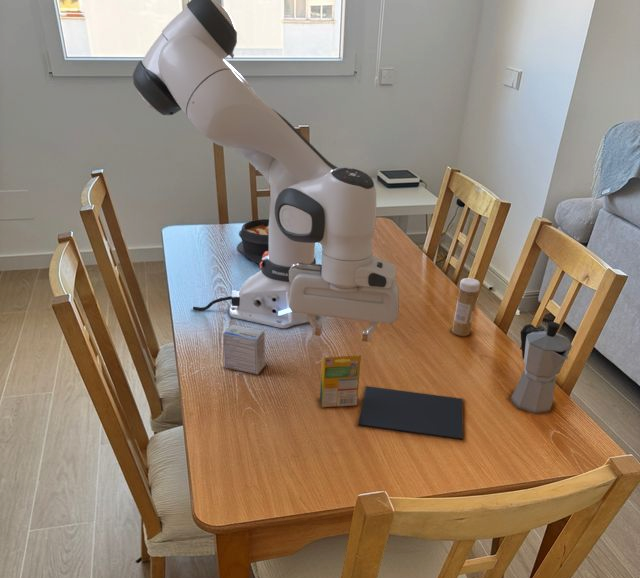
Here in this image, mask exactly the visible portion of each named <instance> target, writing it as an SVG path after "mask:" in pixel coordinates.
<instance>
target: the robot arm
mask: <svg viewBox="0 0 640 578" xmlns="http://www.w3.org/2000/svg"><path fill="white" fill-rule="evenodd" d="M237 44H238V31H237V30H236V26H235V23H234V21H233V18H232V16H231V15H230V13H229V12H228V11H227V9H226V8H225V7H224V6H223V5H222V4H221V3H219V2H218V1H216V0H190V1H189V2H188V3H186V6H185V8H184V9H183V10H181V11H180V12H179V13H178V14H177V15H176V16H175V17H174V18H173V19H172V20H170V21H169V23H167V25H166V26H165V27H164V28H163V29H162V31H161V34H159V36H158V37H157V39H156V40H155V41H154V42H153V43H152V45H151V46H150V48H149V49H148V50H147V52H146V54H145V55H144V56H143V59H142V60H139V61H138V63H137V64H136V66H135V68H134V71H133V73H132V81H133V85H134V87H135V88H136V91H137V93H138V95H139V96H140V98H141V100H142V101H143V102H144V103H145V105H147V106H148V108H150V109H152V110H153V111H155V112H157V113H159V114H160V115H162V116H173V115H175V114H178V112H180V111H182V112H183V113H184V114H185V115H186V117H187V118H188V120H190V122H191V123H192V124H193V125H194V127H195V128H196V129H197V130H198V131H199V132H200V133H201V134H202V135H203V136H205V138H207V140H209V141H211V142H212V143H214V144H215V145H217V146H221V147H225V148H230V149H231V148H233V149H234V150H235V152H237V154H238V155H240V156H241V157H242V158H243V159H245V160H246V161H247V162H248V163H249V164H250V165H251V166H253V168H255V169H256V170H257V171H258V172H259V173H260V174H261V175H262V176H263V177H264V178H265V179H266V181H267V182H268V184H269V190H270V193H269V194H270V195H269V196H270V197H269V216H268V219H269V251H266V252H265V253H264V254H263V256H262V259H261V263H259V271H258V272H256V273H254V274H253V275H251V276H250V277H248V278H247V279H246V280H245V281H244V282H243V283H242V284H241V286H240V289H239V290H235V289H232V290H231V295H229V296H224V297H221V298H220V297H219V298H217V299H213V300H212V301H210V302H209V303H208V304H207V305H205V306H202V307H199V306H192V310H193V311H198V312H199V311H202V312H203V311H207V310H208V309H210V308H211V307H212V306H213V305H214V304H217V303H220V302H226V301H229V300H230V302H231V303H230V305H229V309H228V311H229V315H230V317H231V318H234V319H238V320H242V321H243V320H244V321H248V322H251V323H256V324H261V325H265V326H269V327H275V328H279V329H287V328H290V327H293V326H295V325H301V324H306V323H309V324H310V327H311V328H312V336H318V337H321V335H322V333H323V329H322V328H323V324H322V323H319V322H318V320H317V318H318V316H320V317H328V318H336V319H343V320H345V319H346V320H353V321H361V322H369V328H368V329H365V328H363V331H362V336H361V337H362V338H361V341H362V342H367V343H370V342H371V338H372V334H373V333H374V332H375V330H376V329H378V325H379V323H380V324H386V325H393V324H395V323H396V322H397V321H398V318H399V313H400V312H399V311H400V289H399V284H398V282H397V281H396V277H397V268H396V265H395V264H393V263H391V262H389V261H386V260H384V259H381V257H378V256H375V255H374V252H373V251H374V248H373V243H372V241H373V235H374V233H375V230H376V223H377V221H376V220H377V190H376V189H377V188H376V185H375V182H374V180H373V178H372V177H371V176H370V175H369V174H368V173H367V172H364V171H362V170H360V169H358V168H353V167H345V166H344V167H343V166H342V167H338V166H336V165H334V164H333V163H332V162H330V161H329V160H328V159H327V158H326V157H324V156H323V154H321V152H319V150H317V148H315V146H313V145H312V143H310V141H308V140H307V139H306V138H305V136H304V135H303V134H301V133H300V131H298V129H296V128H295V126H294V125H292V123H290V122H289V121H288V119H286V118H285V117H284V116H283V115H281V114H280V113H279V112H277V111H276V110H275V109H274V108H272V107H271V106H270V105H268V104H267V103H266V102H264V100H263V99H262V98H261V97H260V96H259V93H257V92H256V91H255V90H254V88H252V86H251V85H250V84H249V83H248V81H247V80H246V79H245V78H244V77H243V76H242V75H241V73H239V72H238V71H237V70H236V69H235V68H234V66H232V65H231V64H230V63H229V62H228V61H226V60H225V59H226V58H227V57H228V56H229V57H230V58H231V59H234V57H235V54H234V51H235V49H236V47H237ZM316 243H319V244H320V245H321V264H320V263H317V259H316V257H315V250H316V249H315V248H316Z"/></svg>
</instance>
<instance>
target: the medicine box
mask: <svg viewBox="0 0 640 578" xmlns="http://www.w3.org/2000/svg"><path fill="white" fill-rule="evenodd" d="M265 339H266V337H265V331H264V330H261V329H260V330H259V329H256V328H250V327H246V326H240V325H235V324H231V325H230V326H229V327H227V329H225V331H224V332H223V333H222V340H223V341H222V343H223V358H224V359H223V360H224V368H225V369H231V370H235V371H240V372H243V373H249V374H254V375H259V374H260V372H261V371H262V370H263V369H264V368H265V366H266V345H265V342H266V341H265Z"/></svg>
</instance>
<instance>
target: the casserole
mask: <svg viewBox="0 0 640 578" xmlns="http://www.w3.org/2000/svg"><path fill="white" fill-rule="evenodd" d="M238 236H239V237H240V239H241V241H240V242H239V243H238V244H237V246H236V251H237V252H238V253H239V254H240V255H242V256H243V257H246V258H248V259H250V260H251V261H252V262H254V263H256V264H260V263H261V259H262V256H263V254H264V253H265V252H266V251H269V218H260V219H254V220H250V221H246V222H245V223H244V224H243V225H242V226H241V229H240V230H239V232H238Z"/></svg>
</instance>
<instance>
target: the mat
mask: <svg viewBox="0 0 640 578" xmlns="http://www.w3.org/2000/svg"><path fill="white" fill-rule="evenodd" d="M357 426H358V427H365V428H372V429H379V430H380V429H381V430H385V431H386V430H387V431H393V432H402V433H407V434H415V435H422V436H431V437H438V438H446V439H452V440H460V441H463V438H464V436H463V435H464V434H463V433H464V432H463V431H464V430H463V398H460V397H452V396H444V395H436V394H428V393H420V392H413V391H405V390H397V389H391V388H390V389H389V388H382V387H375V386H366V388H365V392H364V396H363V401H362V405H361V410H360V415H359V420H358V425H357Z"/></svg>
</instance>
